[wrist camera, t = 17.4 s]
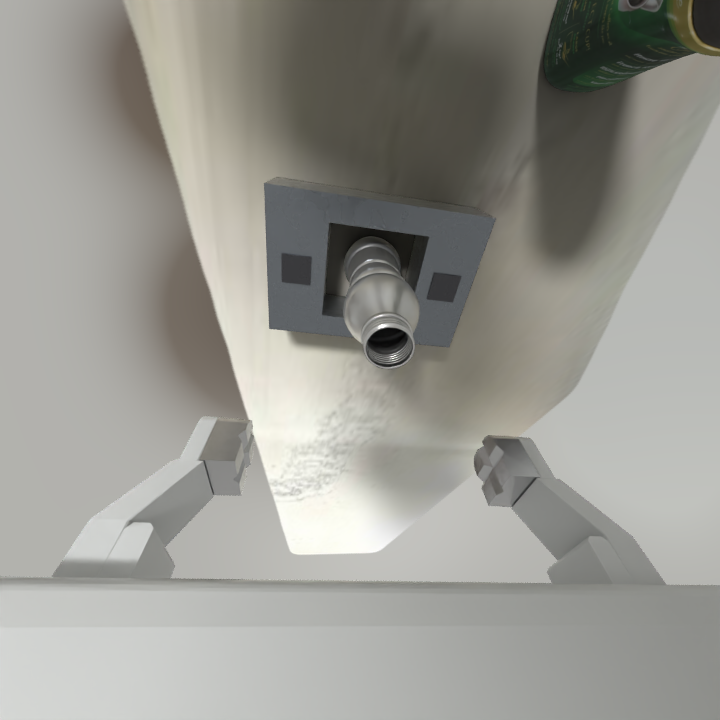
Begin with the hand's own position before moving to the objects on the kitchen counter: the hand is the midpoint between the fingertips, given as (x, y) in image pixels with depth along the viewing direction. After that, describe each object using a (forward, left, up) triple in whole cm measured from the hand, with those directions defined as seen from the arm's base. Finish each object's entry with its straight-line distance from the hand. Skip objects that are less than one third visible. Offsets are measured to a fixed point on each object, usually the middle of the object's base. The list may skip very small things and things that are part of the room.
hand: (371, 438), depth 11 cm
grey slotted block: (+3, +2, -31) cm, 31 cm away
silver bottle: (+3, +2, -31) cm, 31 cm away
